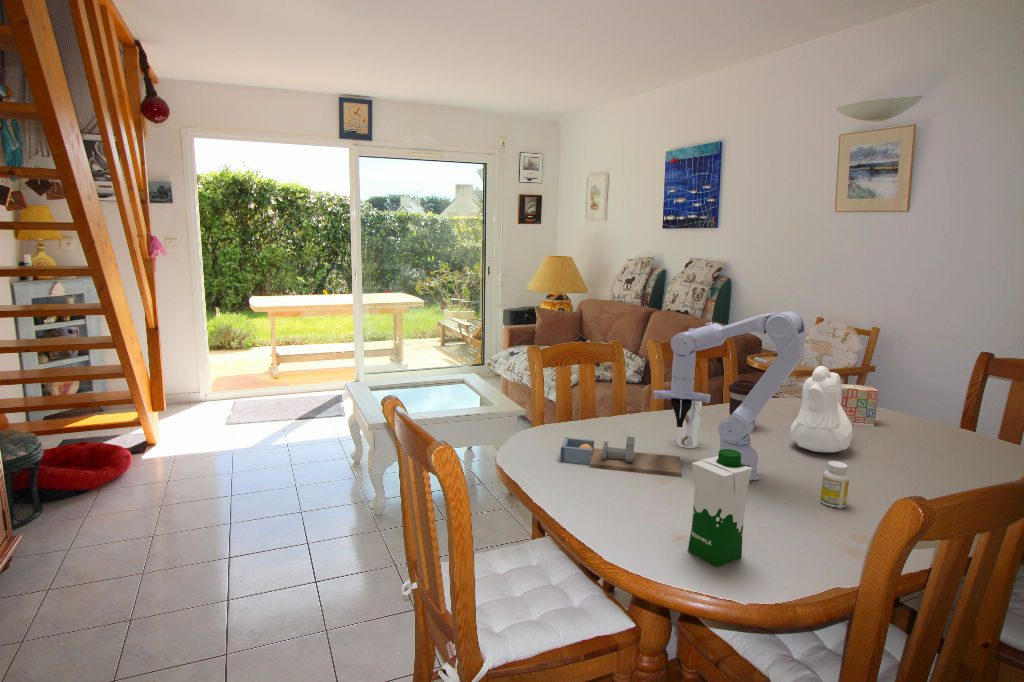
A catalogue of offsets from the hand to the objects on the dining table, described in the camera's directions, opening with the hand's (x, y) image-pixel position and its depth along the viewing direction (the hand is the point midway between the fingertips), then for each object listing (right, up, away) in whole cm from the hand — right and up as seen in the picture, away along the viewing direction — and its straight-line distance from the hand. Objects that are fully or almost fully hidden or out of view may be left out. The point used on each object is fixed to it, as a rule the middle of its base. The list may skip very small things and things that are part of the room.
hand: (679, 426), depth 166 cm
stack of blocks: (+63, -4, +40) cm, 75 cm away
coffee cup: (+28, -5, +31) cm, 42 cm away
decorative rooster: (+46, -8, +14) cm, 49 cm away
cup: (-27, -9, +1) cm, 28 cm away
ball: (-25, -7, +1) cm, 26 cm away
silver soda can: (+6, -8, +14) cm, 17 cm away
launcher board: (-12, -10, -2) cm, 16 cm away
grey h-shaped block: (-17, -8, -1) cm, 19 cm away
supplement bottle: (+29, -15, -24) cm, 40 cm away
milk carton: (-6, -18, -48) cm, 52 cm away
